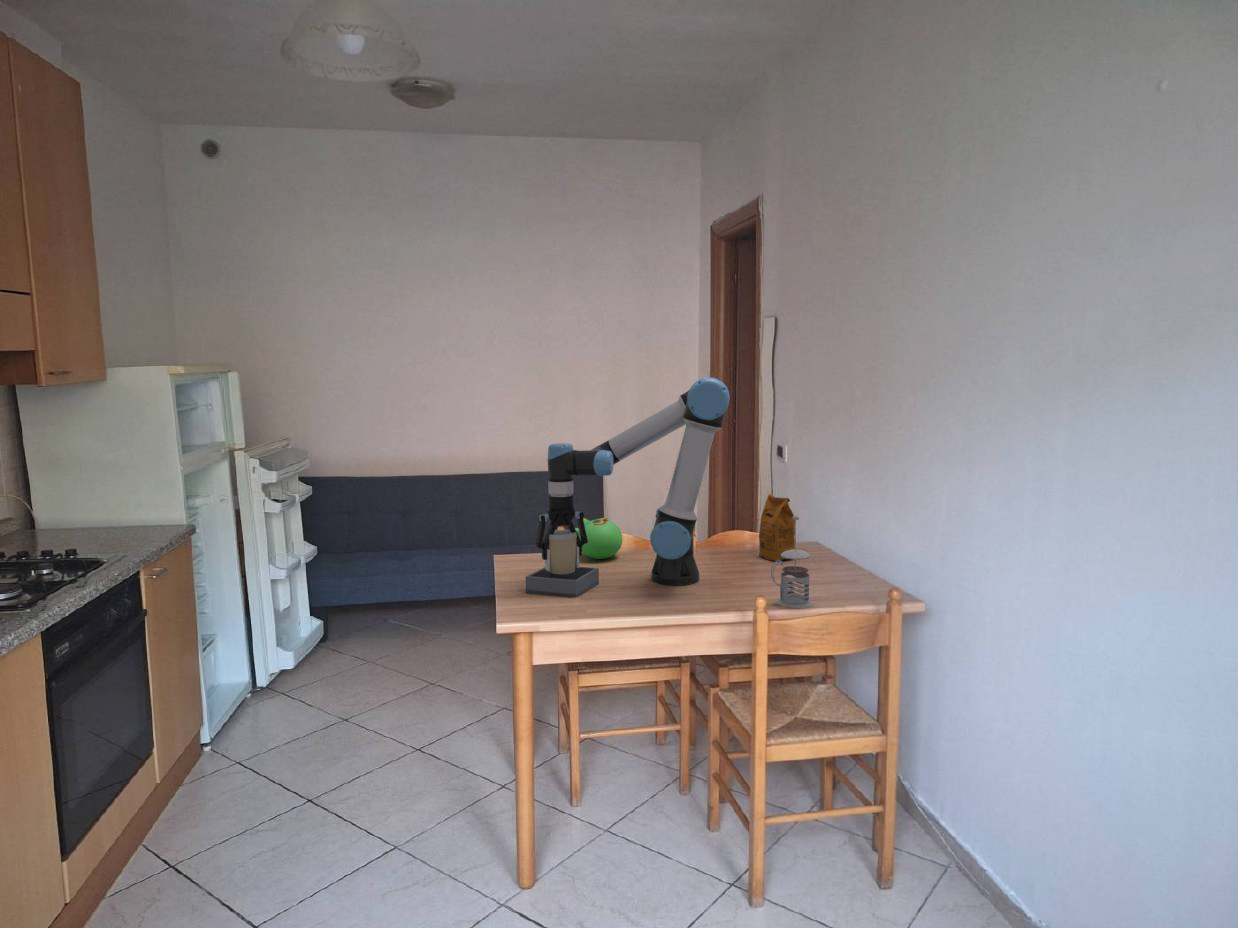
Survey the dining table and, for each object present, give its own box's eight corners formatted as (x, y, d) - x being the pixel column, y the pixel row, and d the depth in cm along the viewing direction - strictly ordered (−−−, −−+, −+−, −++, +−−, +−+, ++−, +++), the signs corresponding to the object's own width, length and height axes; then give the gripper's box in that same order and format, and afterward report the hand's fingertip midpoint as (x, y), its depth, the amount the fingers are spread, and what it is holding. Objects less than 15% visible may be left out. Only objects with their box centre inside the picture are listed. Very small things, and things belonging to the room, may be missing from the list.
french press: (817, 607, 222) (818, 517, 220) (776, 608, 222) (776, 519, 219) (806, 597, 232) (807, 511, 229) (766, 598, 231) (767, 512, 229)
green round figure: (620, 563, 276) (620, 521, 275) (572, 563, 278) (571, 521, 276) (624, 552, 294) (623, 512, 293) (578, 552, 295) (577, 512, 294)
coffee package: (778, 552, 290) (778, 492, 287) (798, 560, 278) (799, 497, 276) (754, 555, 286) (754, 494, 284) (773, 562, 275) (774, 499, 272)
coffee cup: (573, 566, 251) (572, 528, 250) (581, 573, 242) (580, 534, 241) (543, 569, 248) (542, 530, 247) (550, 576, 240) (550, 536, 238)
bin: (598, 583, 250) (598, 568, 250) (576, 597, 235) (575, 581, 235) (551, 579, 257) (550, 564, 256) (525, 592, 241) (525, 576, 241)
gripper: (589, 490, 250) (590, 562, 253) (523, 495, 242) (524, 569, 245) (598, 494, 243) (599, 567, 246) (530, 499, 235) (532, 574, 238)
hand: (562, 568), depth 245 cm, fingers closed on coffee cup, 9 cm apart
